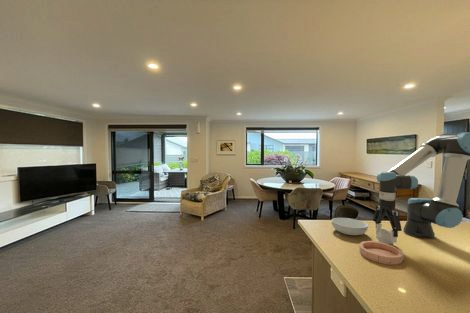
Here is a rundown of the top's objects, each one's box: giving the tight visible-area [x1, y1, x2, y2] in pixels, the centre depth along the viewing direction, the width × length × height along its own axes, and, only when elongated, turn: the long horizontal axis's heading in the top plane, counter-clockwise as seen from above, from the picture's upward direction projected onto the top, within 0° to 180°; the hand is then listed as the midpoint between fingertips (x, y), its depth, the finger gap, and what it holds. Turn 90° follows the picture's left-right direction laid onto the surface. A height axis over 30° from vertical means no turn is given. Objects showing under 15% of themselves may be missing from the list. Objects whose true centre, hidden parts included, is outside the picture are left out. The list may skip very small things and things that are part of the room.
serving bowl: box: [331, 217, 369, 236], centre depth 139 cm, size 21×21×7 cm
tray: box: [358, 240, 405, 266], centre depth 109 cm, size 18×18×4 cm
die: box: [375, 228, 394, 246], centre depth 122 cm, size 8×9×10 cm
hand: (385, 238), depth 122 cm, fingers closed on die, 10 cm apart
